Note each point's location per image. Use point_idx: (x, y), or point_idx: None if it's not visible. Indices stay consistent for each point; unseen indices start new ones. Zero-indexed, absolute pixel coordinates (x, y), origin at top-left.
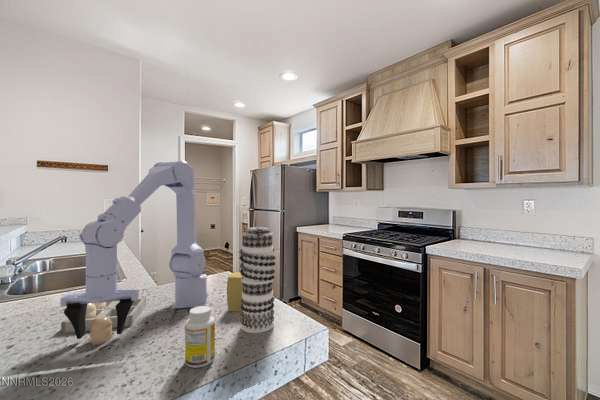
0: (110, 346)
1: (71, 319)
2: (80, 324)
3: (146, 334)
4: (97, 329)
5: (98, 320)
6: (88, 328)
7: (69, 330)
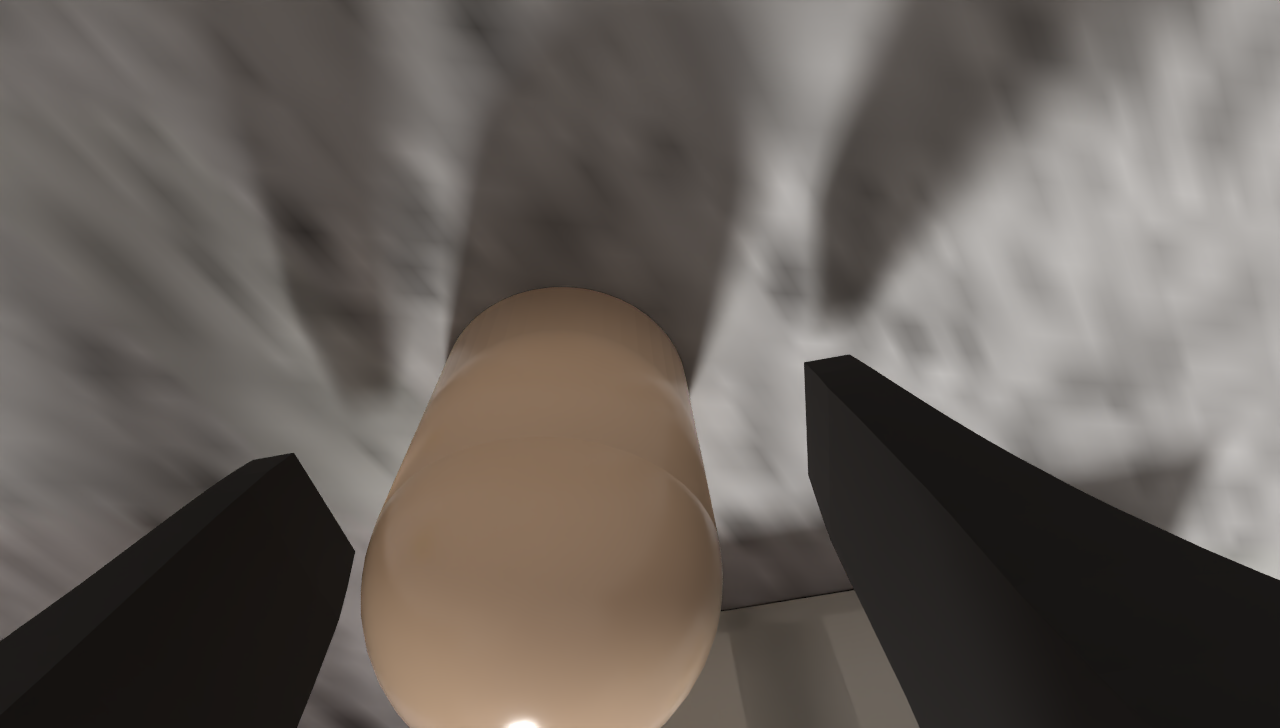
0: (337, 278)
1: (1261, 614)
2: (915, 555)
3: (111, 536)
4: (497, 446)
5: (525, 652)
6: (870, 627)
7: None
